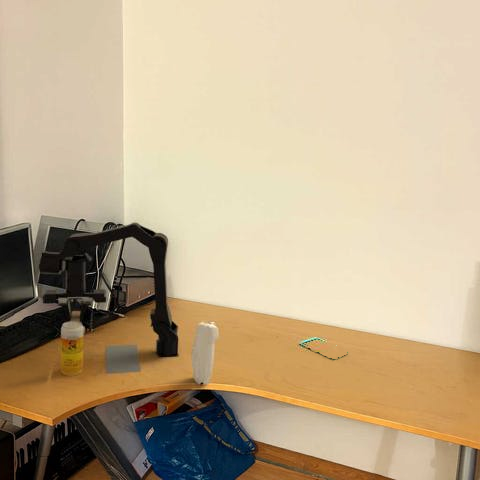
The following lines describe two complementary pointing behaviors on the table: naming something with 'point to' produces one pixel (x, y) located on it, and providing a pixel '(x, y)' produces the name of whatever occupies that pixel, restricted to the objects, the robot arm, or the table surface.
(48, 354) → the table surface
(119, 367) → the tool mat
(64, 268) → the robot arm
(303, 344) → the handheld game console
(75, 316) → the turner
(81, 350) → the yellow cylindrical bottle
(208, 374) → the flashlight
